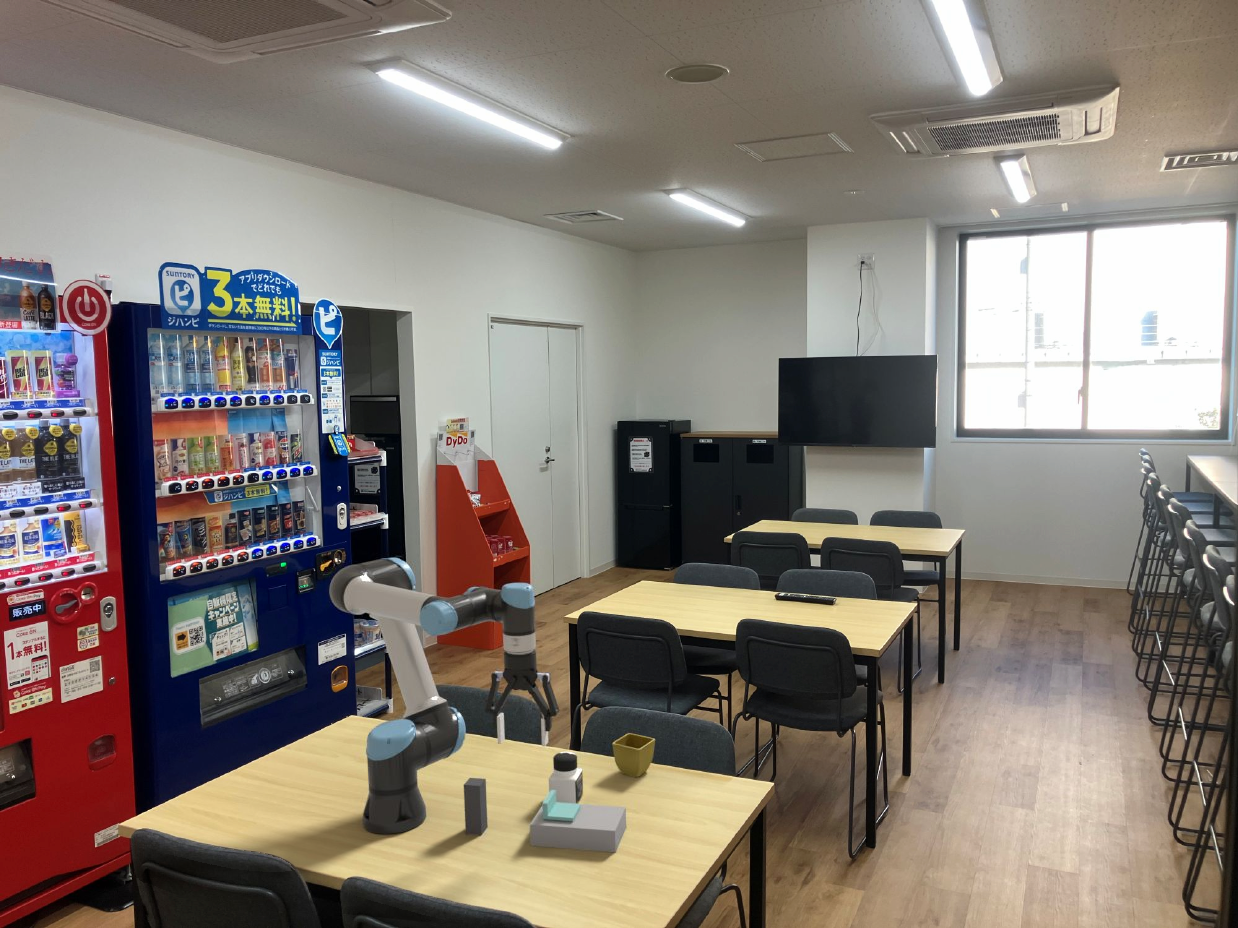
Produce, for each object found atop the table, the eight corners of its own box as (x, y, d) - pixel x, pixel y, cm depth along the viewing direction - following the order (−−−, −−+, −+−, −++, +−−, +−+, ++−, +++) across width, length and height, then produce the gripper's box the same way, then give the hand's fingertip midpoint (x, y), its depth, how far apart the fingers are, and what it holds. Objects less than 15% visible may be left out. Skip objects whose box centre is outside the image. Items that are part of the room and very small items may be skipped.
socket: (530, 845, 211) (529, 824, 210) (545, 821, 222) (544, 801, 222) (615, 852, 207) (615, 830, 206) (626, 827, 218) (625, 806, 218)
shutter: (542, 818, 212) (542, 803, 212) (551, 805, 219) (551, 789, 219) (573, 821, 211) (572, 805, 210) (580, 807, 218) (580, 791, 217)
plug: (465, 833, 217) (463, 784, 216) (471, 825, 221) (469, 777, 220) (481, 834, 216) (479, 785, 215) (487, 826, 220) (485, 778, 219)
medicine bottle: (576, 807, 230) (575, 760, 229) (549, 805, 231) (547, 759, 230) (583, 794, 237) (582, 749, 236) (556, 793, 238) (555, 748, 237)
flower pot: (656, 770, 251) (655, 738, 250) (640, 782, 243) (639, 749, 243) (629, 763, 255) (628, 732, 255) (612, 775, 248) (611, 743, 247)
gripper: (468, 652, 213) (471, 746, 214) (562, 656, 208) (565, 751, 210) (479, 644, 220) (482, 734, 222) (571, 647, 215) (573, 739, 217)
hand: (523, 742), depth 216 cm, fingers open, 10 cm apart
